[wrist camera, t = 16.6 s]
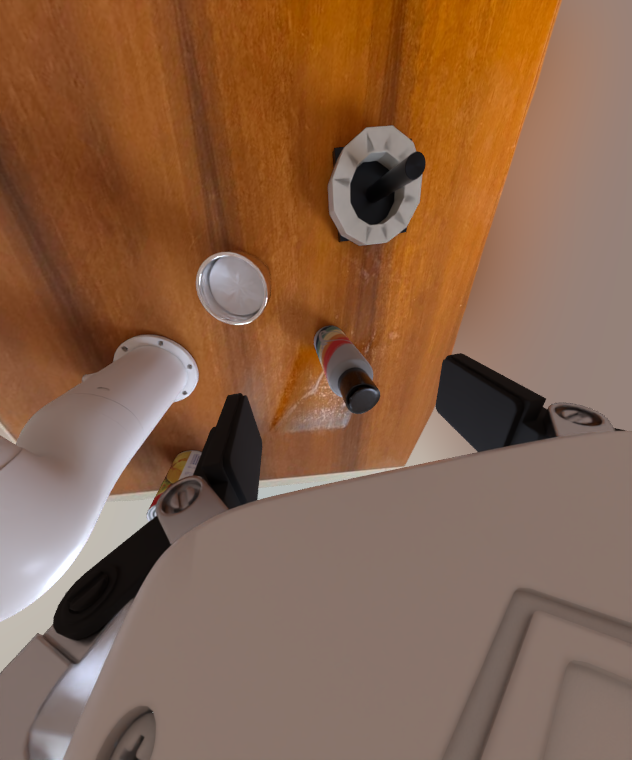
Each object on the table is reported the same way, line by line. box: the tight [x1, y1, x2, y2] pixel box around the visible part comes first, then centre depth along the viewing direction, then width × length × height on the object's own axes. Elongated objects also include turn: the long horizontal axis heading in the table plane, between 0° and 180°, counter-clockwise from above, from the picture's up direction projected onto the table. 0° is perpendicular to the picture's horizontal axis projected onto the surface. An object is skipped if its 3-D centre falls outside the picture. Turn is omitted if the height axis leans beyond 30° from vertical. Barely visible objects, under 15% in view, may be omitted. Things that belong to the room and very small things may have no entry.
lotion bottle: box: [314, 326, 380, 414], centre depth 33 cm, size 6×6×20 cm
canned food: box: [147, 450, 202, 521], centre depth 45 cm, size 8×8×12 cm
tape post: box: [333, 139, 425, 242], centre depth 27 cm, size 10×10×12 cm
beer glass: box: [196, 250, 271, 325], centre depth 28 cm, size 7×7×15 cm
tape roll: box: [328, 126, 422, 246], centre depth 30 cm, size 11×11×3 cm
